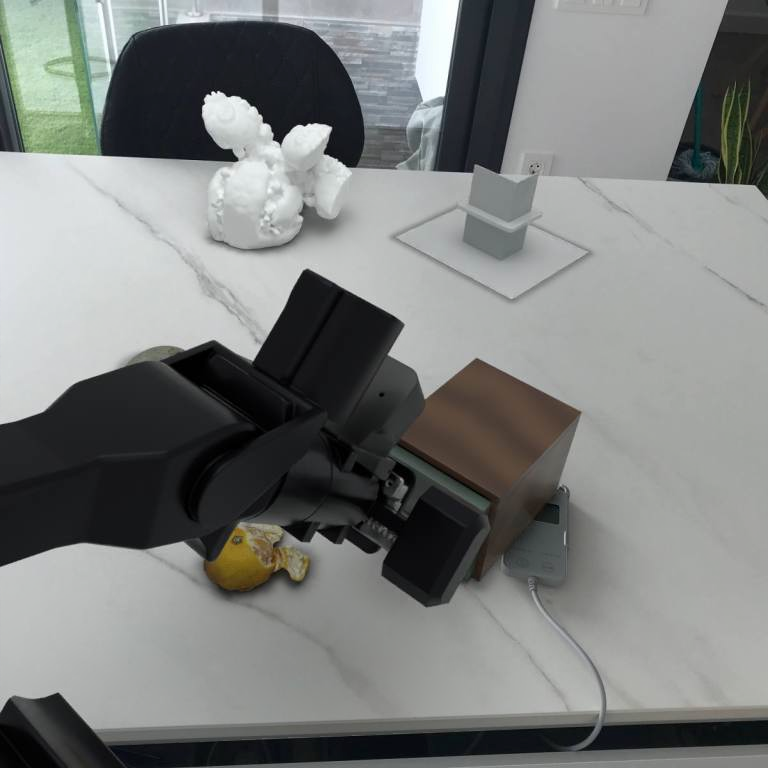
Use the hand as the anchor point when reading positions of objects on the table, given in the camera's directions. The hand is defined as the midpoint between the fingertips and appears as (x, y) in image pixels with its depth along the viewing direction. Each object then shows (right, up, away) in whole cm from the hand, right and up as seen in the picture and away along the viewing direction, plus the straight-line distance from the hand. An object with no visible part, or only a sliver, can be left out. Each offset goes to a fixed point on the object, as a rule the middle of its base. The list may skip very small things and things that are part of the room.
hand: (392, 496), depth 56 cm
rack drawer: (+5, -4, +13) cm, 15 cm away
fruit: (-11, -7, +9) cm, 16 cm away
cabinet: (+7, -3, +16) cm, 18 cm away
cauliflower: (-16, +31, +55) cm, 65 cm away
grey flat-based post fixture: (+15, +28, +55) cm, 63 cm away
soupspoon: (-18, +7, +26) cm, 32 cm away
